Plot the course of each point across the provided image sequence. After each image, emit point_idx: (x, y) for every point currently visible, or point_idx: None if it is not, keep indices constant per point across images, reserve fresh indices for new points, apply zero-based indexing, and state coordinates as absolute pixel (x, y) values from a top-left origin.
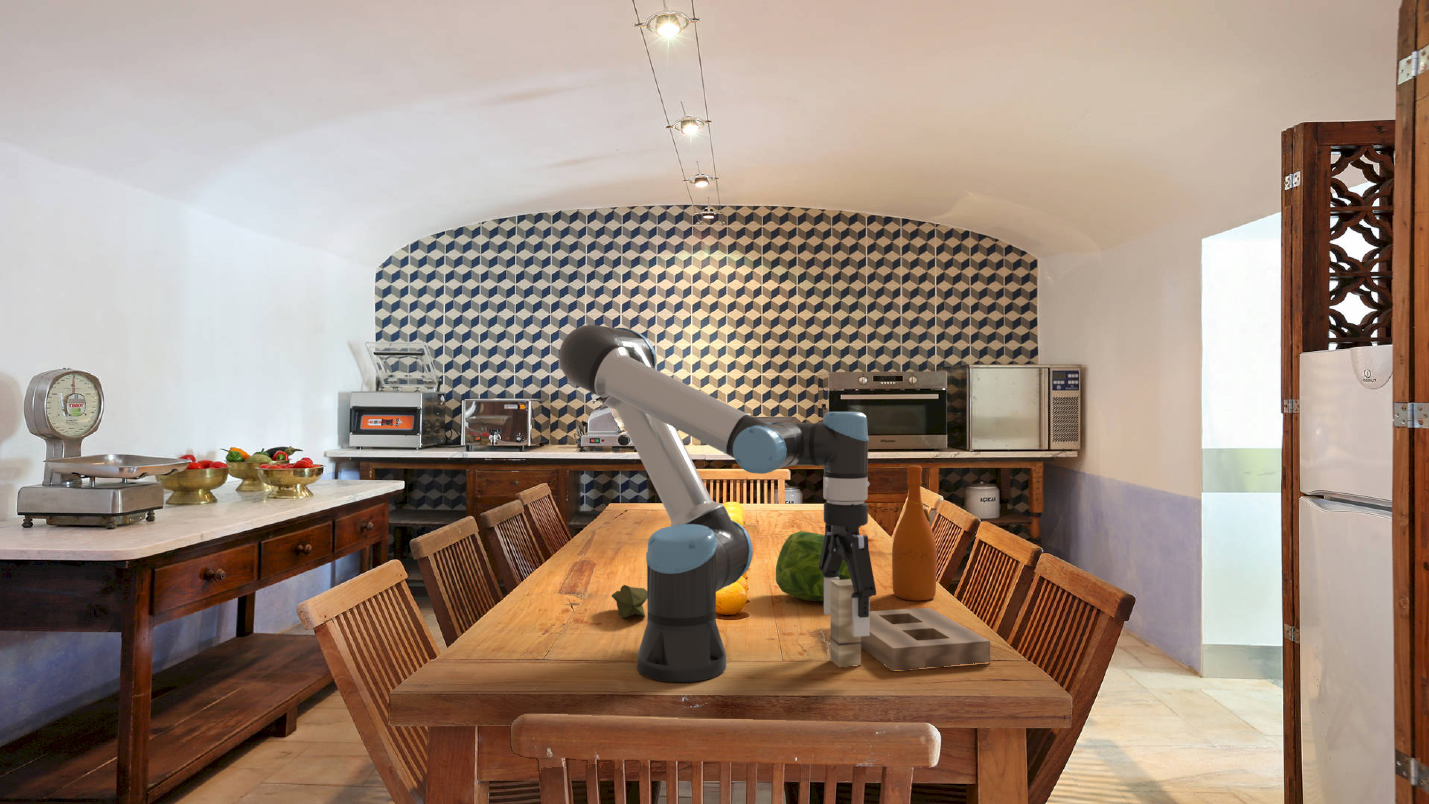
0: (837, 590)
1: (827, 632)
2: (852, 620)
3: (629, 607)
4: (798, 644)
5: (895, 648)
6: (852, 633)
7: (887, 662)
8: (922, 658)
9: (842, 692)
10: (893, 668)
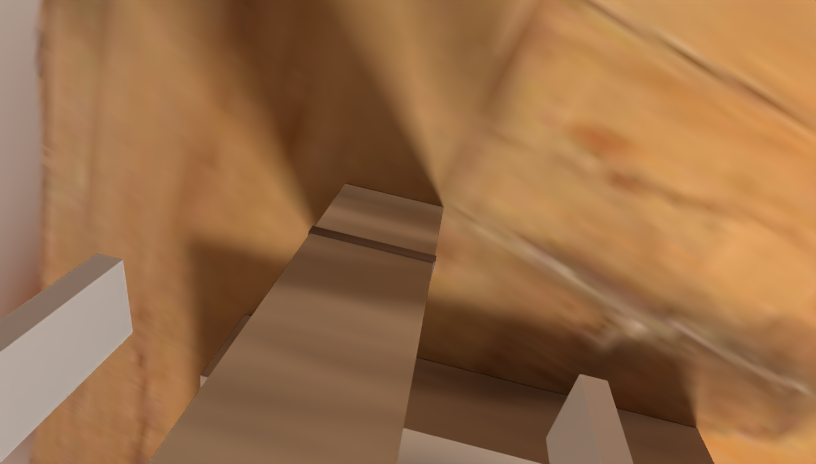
0: None
1: (764, 395)
2: (49, 316)
3: None
4: (724, 205)
5: (201, 382)
6: (113, 266)
7: None
8: None
9: (76, 29)
10: (239, 324)
